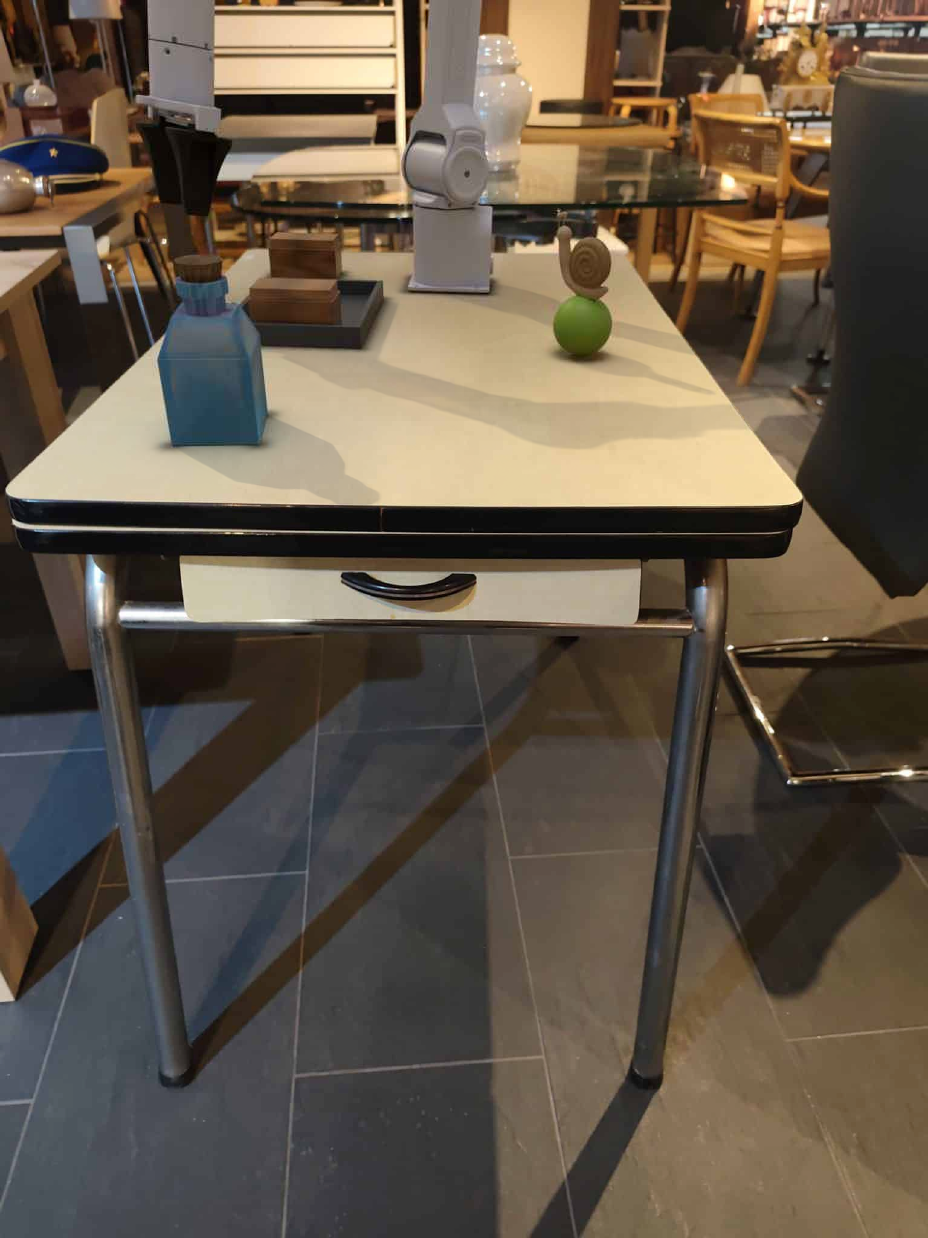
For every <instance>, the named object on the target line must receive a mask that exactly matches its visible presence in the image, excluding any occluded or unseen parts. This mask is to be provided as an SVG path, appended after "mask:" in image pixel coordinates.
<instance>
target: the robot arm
mask: <svg viewBox="0 0 928 1238" xmlns="http://www.w3.org/2000/svg"><path fill="white" fill-rule="evenodd" d="M482 5H483V0H428V14H427V27H426V29H427V31H426V48H425V64H424V79H423V81H424V82H423V83H424V84H423V95H422V96H423V97H422V104H421V106H420V108H419V110H418V111H417V112H416V114H415V115H414V117H413V118H412V120H411V122H410V133H409V138H408V141H407V144H406V145H405V148H404V150H403V152H402V155H401V161H400V163H401V165H400V167H401V175H402V178H403V181H404V183H405V184H406V186H407V187H408V188H409V189H410V190H411V200H412V235H413V236H412V237H413V241H412V242H413V243H412V245H413V248H412V249H413V250H412V251H413V272H412V274H411V277H410V279H409V282H408V285H407V290H408V291H413V292H414V291H416V292H417V291H418V292H449V293H450V292H452V293H478V294H479V293H482V294H483V293H484V294H487V293H489V292H490V286H491V275H492V276H493V275H494V261H495V260H494V259H495V258H493V257H492V233H493V232H492V231H493V226H492V225H493V207H492V205H491V206H490V205H479V199H480V197H481V196H482V195H483V193H484V192H485V190H486V188H487V186H488V183H489V179H490V165H489V164H490V163H489V159H488V156H487V152H486V130H485V127H484V126H483V124H482V122H481V121H480V119H479V117H478V116H477V114H476V112H475V110H474V101H475V88H476V77H477V65H478V64H477V63H478V52H479V40H480V28H481V17H482ZM215 11H216V0H147V34H148V37H147V39H148V64H149V65H148V67H149V68H148V69H149V72H148V73H149V74H148V75H149V95H141V94H136V103H137V104H138V105H139V104H140V105H144V106H147V117H148V118H149V119H152V120H150V122H144V121H135V128H136V130H137V132H138V134H139V136H140V138H141V140H142V143H143V145H144V147H145V150H146V153H147V156H148V161H149V164H150V168H151V172H152V177H153V181H154V186H155V190H156V195H157V198H158V201H159V203H160V204H166V205H168V204H169V205H179V206H182V208H183V211H184V214H185V215H186V216H192V217H203V218H204V217H205V218H207V217H209V215H210V211H211V207H212V205H213V204H212V203H213V199H214V195H215V194H214V193H215V190H216V186H217V181H218V178H219V176H220V172H221V169H222V167H223V164H224V162H225V159H226V158H227V157H228V154H229V153H230V151H231V149H232V147H233V139H231V138H227V137H223V136H221V137H220V136H218V135H217V134H221V133H222V108H218V107H216V106H215V39H216V38H215V34H216V33H215V24H216V23H215V22H216V19H215V18H216V16H215V15H216V14H215V13H216V12H215ZM176 116H178V117H176Z"/></svg>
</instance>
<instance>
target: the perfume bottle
mask: <svg viewBox="0 0 928 1238" xmlns="http://www.w3.org/2000/svg"><path fill="white" fill-rule="evenodd" d="M223 260H224V259H223V257H222V256H219V255H215V254H214V255H213V254H190V255H183V256H179V257H176V258H175V259H174V263H175V267H176V270H177V272H178V276H177V277H175V279H174V281H175V288H176V295H177V296H179V297H180V298H182V302H181V303H180V304H179V306H177V308H176V310H175V311H174V312H173V314H172V315H171V317H170V318H169V319H170V320H169V322H168V326H167V328H166V331H165V334H164V337H163V340H162V343H161V346H160V350H159V352H158V354H157V359H156V362H157V368H158V374H159V379H160V384H161V385H160V386H161V391H162V397H163V402H164V403H163V404H164V409H165V414H166V420H167V426H168V432H169V438H170V443H171V446H174V447H175V446H181V447H182V446H243V445H244V446H245V445H246V446H248V445H249V446H250V445H251V446H253V445H257V446H259V445H260V444H261V440H262V438H263V437H262V436H263V433H264V430H265V426H266V423H267V419H268V415H269V411H268V401H267V393H266V392H267V391H266V382H265V373H264V363H263V353H262V345H261V343H260V334H259V332H258V331H257V329H256V328H255V326H254V325H253V323H252V322H251V321H250V319H249V318H248V316H247V315H246V313H245V312H244V310H243V309H242V307H241V306H240V302H227V301H226V295H228V294H229V292H230V291H229V283H228V276H226V275H225V274H223V273H222V272H223V262H224V261H223Z"/></svg>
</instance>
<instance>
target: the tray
mask: <svg viewBox="0 0 928 1238" xmlns="http://www.w3.org/2000/svg"><path fill="white" fill-rule="evenodd" d="M265 278H282V277H271V276H266V277H265ZM282 279H316V278H282ZM316 280H337V285H338V290H339V291H340V298H341V316H342V325H322V324H289V323H257V322H252V323H253V325H254V326H255V328H256V329H257V331H258V332H259V334H260V343H261V346H271V347H272V346H273V347H299V348H300V347H306V348H335V349H336V348H337V349H362V347H363V344H364V343H365V341H366V339H367V336H368V334H369V332H370V329H371V327H372V325H373V323H374V320H375V318H376V317H377V314H378V312H379V310H380V307H381V306H382V303H383V301H384V297H385V296H384V295H385V294H384V280H381V279H378V280H377V279H345V278H338V279H316ZM249 298H250V293H249V294H248V295H247V296H246V297H244V299H242V301H241V302H239V304H240V306H241V307H242V309H243V310H244V312H245V313H246V315H247V316H248V318H249V319H250V314H249V305H248V299H249Z"/></svg>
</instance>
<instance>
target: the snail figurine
mask: <svg viewBox="0 0 928 1238" xmlns="http://www.w3.org/2000/svg"><path fill="white" fill-rule="evenodd" d="M567 217H568V212H567V211H562V212H557V214H556V218H557V219H558V221H561V220H562V219H563V221H562V226H560V223H558V224H557V225H558V229H557V231H556V239H557V241H558V260H559V267H560V272H561V275H562V280H563V282H564V283H565V285H566V286H567V288H569V290H571V291H572V292H573V293H574V295H573V296H571V297H568V298H567V299H566V300H564V302H562V303H561V305H560V306H559V307H558V309H557V310H556V311H555V314H554V317H553V323H552V330H553V331H552V332H553V335H554V338H555V340H556V342H557V344H558V345H559V346H560V347H561V348H562V350H564V351H565V352H567V353H568V354H571V355H574V356H578V357H584V356H589V355H592V354H594V353H596V352H598V351H600V350H601V349H602V348H604V346H605V345H606V343H607V342H608V340H609V338H610V336H611V334H612V327H613V319H612V314H611V312H610V309H609V307H608V306H607V305H606V303H605V302H604V301H602V300H601V298H603V297H604V296H605V295H606V294H607V293H608V292H609V290H610V287H608V286H602V285H603V284H604V283H605V282H606V281H607V280H608V278H609V276H610V274H611V270H612V256H611V252H610V250H609V248H608V246H607V245H606V244H605V242H604V241H602V240H601V239H600V238H598V237H594V236H588V237H584V238H581V239H580V240H578V241H577V242H576V243H575V245H574V247H573V248H572V246H571V240H572V236H573V232H572V230H571V228H570V227H569V226H567V225H565V219H566V218H567Z"/></svg>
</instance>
